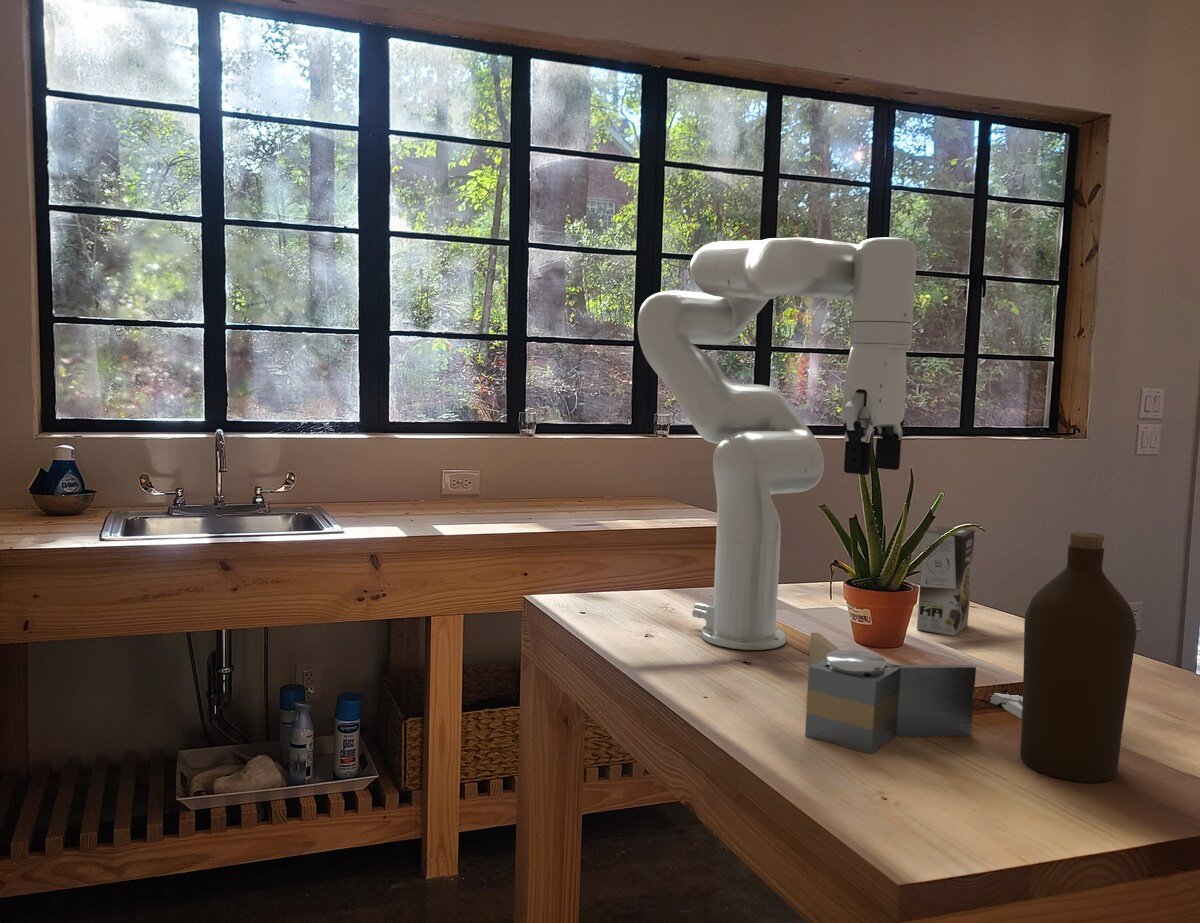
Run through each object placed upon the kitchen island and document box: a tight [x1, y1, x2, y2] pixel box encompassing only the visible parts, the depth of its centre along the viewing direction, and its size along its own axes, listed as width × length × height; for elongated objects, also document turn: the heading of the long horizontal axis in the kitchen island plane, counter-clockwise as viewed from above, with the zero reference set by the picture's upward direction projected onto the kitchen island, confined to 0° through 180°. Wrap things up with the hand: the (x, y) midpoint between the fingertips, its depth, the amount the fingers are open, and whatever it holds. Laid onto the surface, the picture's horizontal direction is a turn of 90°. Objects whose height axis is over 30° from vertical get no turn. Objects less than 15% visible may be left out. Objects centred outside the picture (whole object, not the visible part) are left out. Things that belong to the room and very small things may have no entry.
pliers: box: [989, 692, 1023, 720], centre depth 128 cm, size 10×2×15 cm
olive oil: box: [1019, 531, 1137, 783], centre depth 105 cm, size 11×11×25 cm
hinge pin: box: [826, 649, 887, 677], centre depth 112 cm, size 6×6×8 cm
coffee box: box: [916, 526, 976, 637], centre depth 161 cm, size 9×6×16 cm
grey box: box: [804, 632, 977, 755], centre depth 115 cm, size 20×14×8 cm
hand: (872, 471), depth 128 cm, fingers open, 9 cm apart
